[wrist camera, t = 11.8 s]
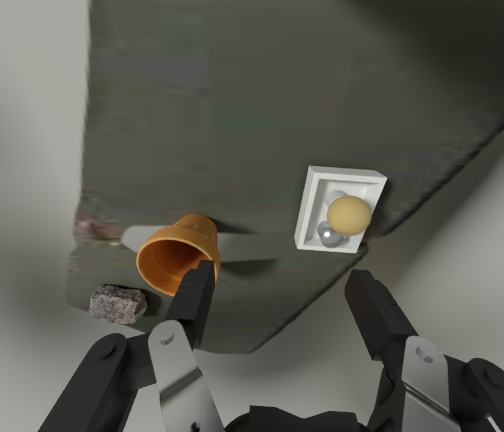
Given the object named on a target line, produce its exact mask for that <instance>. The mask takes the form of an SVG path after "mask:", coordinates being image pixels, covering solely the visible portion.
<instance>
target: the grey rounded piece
mask: <svg viewBox="0 0 504 432" xmlns="http://www.w3.org/2000/svg"><path fill="white" fill-rule="evenodd" d="M317 233H318V235H319V237H320V240H321V242H322V244H323V246H325V247H326V248H336V247H338V246H339V245H341V243H342V242H343V235H342V234H339V233H337V232H336V231H334V230H333V229H332V228H331V227H330V225H329V223H328V221H327V220H326V221H323V222H321V223H320V224H319V225H318V227H317Z"/></svg>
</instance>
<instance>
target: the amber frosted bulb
mask: <svg viewBox="0 0 504 432" xmlns="http://www.w3.org/2000/svg"><path fill="white" fill-rule="evenodd" d="M325 203H326V205H327V206H328V211H327V221H328V223H329V225H330V227H331V228H332V229H333V230H334V231H336V232H337V233H339V234H342V235H347V236H354V235H358V234H360V233H361V232H363V231H364V230H365V229H366V228H367V227H368V225H369V224H370V222H371V218H372V213H371V209H370V207H369V205H368V204H367V203H366V202H365V201H364V200H362V199H361V198H358V197H356V196H347V195H346V194H345V193H344V192H343V191H341V190H334V191H331V192H330V193H328V195H327V196H326V199H325Z"/></svg>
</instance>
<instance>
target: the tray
mask: <svg viewBox="0 0 504 432" xmlns="http://www.w3.org/2000/svg"><path fill="white" fill-rule="evenodd" d="M386 180H387V177H385V176H384V175H382V174H380V173H378V172H377V171H374V170H360V169H347V168H333V167H319V166H309V169H308V174H307V179H306V184H305V188H304V193H303V198H302V203H301V208H300V212H299V217H298V222H297V227H296V232H295V237H294V238H295V242H296V246H297V248H298V249H307V250H320V251H334V252H347V253H356V252H357V249H358V247H359V244H360V242H361V240H362V237H363V235H364V233H365V230H366V229H365V230H364V231H363V232H361V233H360V234H358V235H354V236H347V235H343V242H342V243H341V245H339V246H338V247H336V248H326V247H325V246H323V244H322V242H321V240H320V237H319V235H318V233H317V227H318V225H319V224H320V223H321V222H323V221H326V220H327V211H328V206H327V205H326V203H325V199H326V196H327V195H328V193H330V192H331V191H334V190H341V191H343V192H344V193H345V194H346V195H347V196H356V197H358V198H361V199H362V200H364V201H365V202H366V203H367V204H368V205H369V207H370V209H371V213H373V211H374V209H375V206H376V204H377V201H378V199H379V197H380V194H381V192H382V190H383V187H384V185H385V182H386Z"/></svg>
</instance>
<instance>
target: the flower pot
mask: <svg viewBox="0 0 504 432" xmlns="http://www.w3.org/2000/svg"><path fill="white" fill-rule="evenodd" d="M200 260H214V267H215V283H216V281H217V278H218V274H219V269H220V263H221V259H220V254H219V251H218V249H217V228H216V226H215V224H214V223H213V221H211V220H210V219H209V218H208V217H206V216H204V215H200V214H190V215H187V216H185V217H183V218H182V219H181V220H179V221H178V222H176V223H175V224H173V225H172V226H170V227H166V228H163V229H161V230H159V231H157V232H156V233H154V234H153V235H152V236H151V237H150V238H149V239H148V240H147V242H146V243H145V244H144V245H143V246H142V247H141V248H140V250H139V252H138V255H137V267H138V270H139V272H140V274H141V276H142V277H143V278H144V279H145V281H146V282H147V283H148V284H150V285H151V286H152V287H154V288H155V289H157V290H159V291H161V292H163V293H165V294H168V295H171V296H175V294H176V292H177V289H178V287H179V285H180V282H181V280H182V278H183V276H184V274H185V273H186V272H187V271H188V270H189V269H190V268H194V269H197V267H198V264H199V262H200Z"/></svg>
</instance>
